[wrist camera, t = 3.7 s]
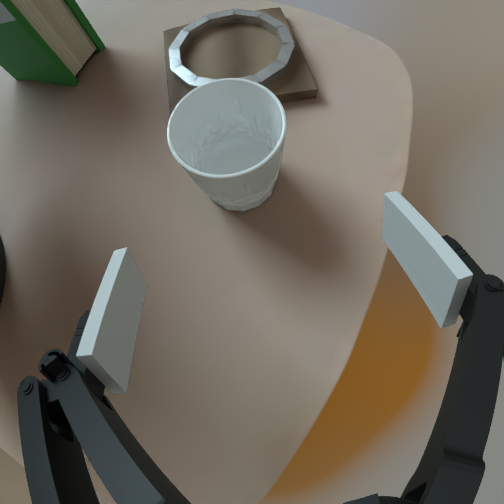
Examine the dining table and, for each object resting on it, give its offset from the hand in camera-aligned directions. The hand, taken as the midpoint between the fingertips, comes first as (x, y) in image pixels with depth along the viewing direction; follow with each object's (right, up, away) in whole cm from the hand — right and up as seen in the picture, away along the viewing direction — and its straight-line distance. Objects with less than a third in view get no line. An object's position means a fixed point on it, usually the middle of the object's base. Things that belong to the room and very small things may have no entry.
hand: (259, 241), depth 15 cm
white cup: (-1, +6, +14) cm, 15 cm away
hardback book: (-31, +28, +19) cm, 46 cm away
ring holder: (-3, +21, +16) cm, 27 cm away
